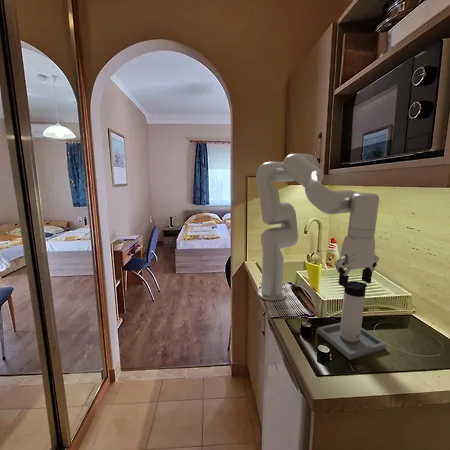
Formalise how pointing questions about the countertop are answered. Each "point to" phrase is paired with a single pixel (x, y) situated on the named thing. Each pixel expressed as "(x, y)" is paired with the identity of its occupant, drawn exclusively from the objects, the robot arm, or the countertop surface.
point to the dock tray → (351, 351)
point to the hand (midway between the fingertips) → (354, 283)
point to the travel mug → (352, 312)
